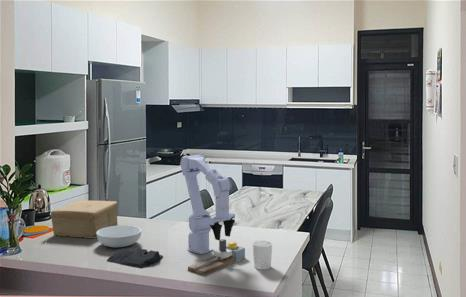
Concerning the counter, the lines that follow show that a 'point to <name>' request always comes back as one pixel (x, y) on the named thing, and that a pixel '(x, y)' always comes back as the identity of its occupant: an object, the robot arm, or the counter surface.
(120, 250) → the dark grey folded cloth
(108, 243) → the serving bowl
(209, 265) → the rail board
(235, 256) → the cabinet
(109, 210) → the paper package
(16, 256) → the counter surface
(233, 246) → the button
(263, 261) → the white cup
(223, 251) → the carriage
